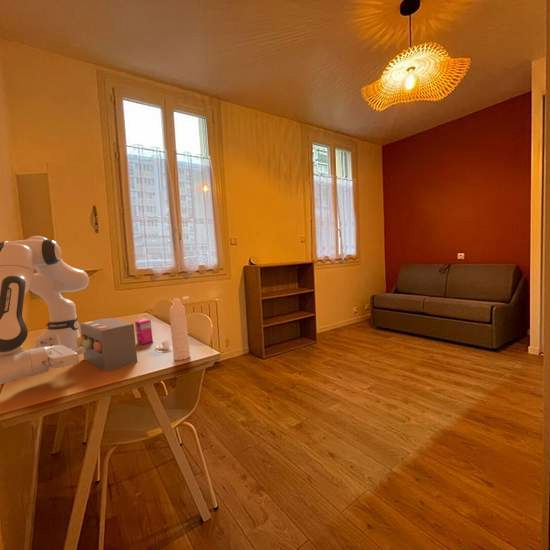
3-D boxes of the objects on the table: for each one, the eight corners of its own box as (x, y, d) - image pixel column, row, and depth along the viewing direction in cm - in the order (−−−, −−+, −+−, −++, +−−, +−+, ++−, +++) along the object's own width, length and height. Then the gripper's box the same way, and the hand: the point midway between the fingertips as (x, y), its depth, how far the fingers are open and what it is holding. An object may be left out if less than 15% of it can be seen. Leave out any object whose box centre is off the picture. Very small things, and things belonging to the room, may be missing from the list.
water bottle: (178, 361, 124) (172, 300, 122) (170, 358, 129) (165, 299, 127) (197, 355, 130) (192, 296, 128) (189, 352, 135) (184, 296, 133)
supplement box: (136, 343, 155) (134, 321, 154) (148, 340, 159) (146, 318, 158) (141, 345, 151) (139, 322, 150) (153, 342, 155) (151, 320, 154)
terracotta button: (97, 353, 118) (96, 343, 118) (93, 351, 121) (92, 341, 121) (105, 351, 120) (104, 341, 120) (101, 349, 123) (100, 339, 123)
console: (106, 371, 118) (101, 329, 117) (83, 359, 135) (79, 322, 134) (137, 362, 127) (133, 323, 125) (112, 351, 144) (109, 316, 143)
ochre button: (79, 347, 128) (78, 338, 128) (76, 346, 131) (75, 337, 130) (87, 345, 130) (86, 336, 130) (84, 344, 133) (83, 335, 132)
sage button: (86, 351, 122) (84, 341, 122) (82, 349, 125) (81, 339, 125) (94, 349, 125) (93, 339, 124) (90, 347, 127) (89, 337, 127)
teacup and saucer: (153, 350, 143) (152, 342, 143) (169, 346, 148) (168, 337, 148) (161, 354, 137) (160, 345, 136) (178, 349, 142) (177, 340, 142)
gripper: (46, 356, 99) (93, 345, 109) (32, 347, 113) (75, 337, 123) (48, 375, 100) (95, 362, 110) (34, 363, 113) (77, 353, 124)
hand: (84, 349), depth 117 cm, fingers closed
